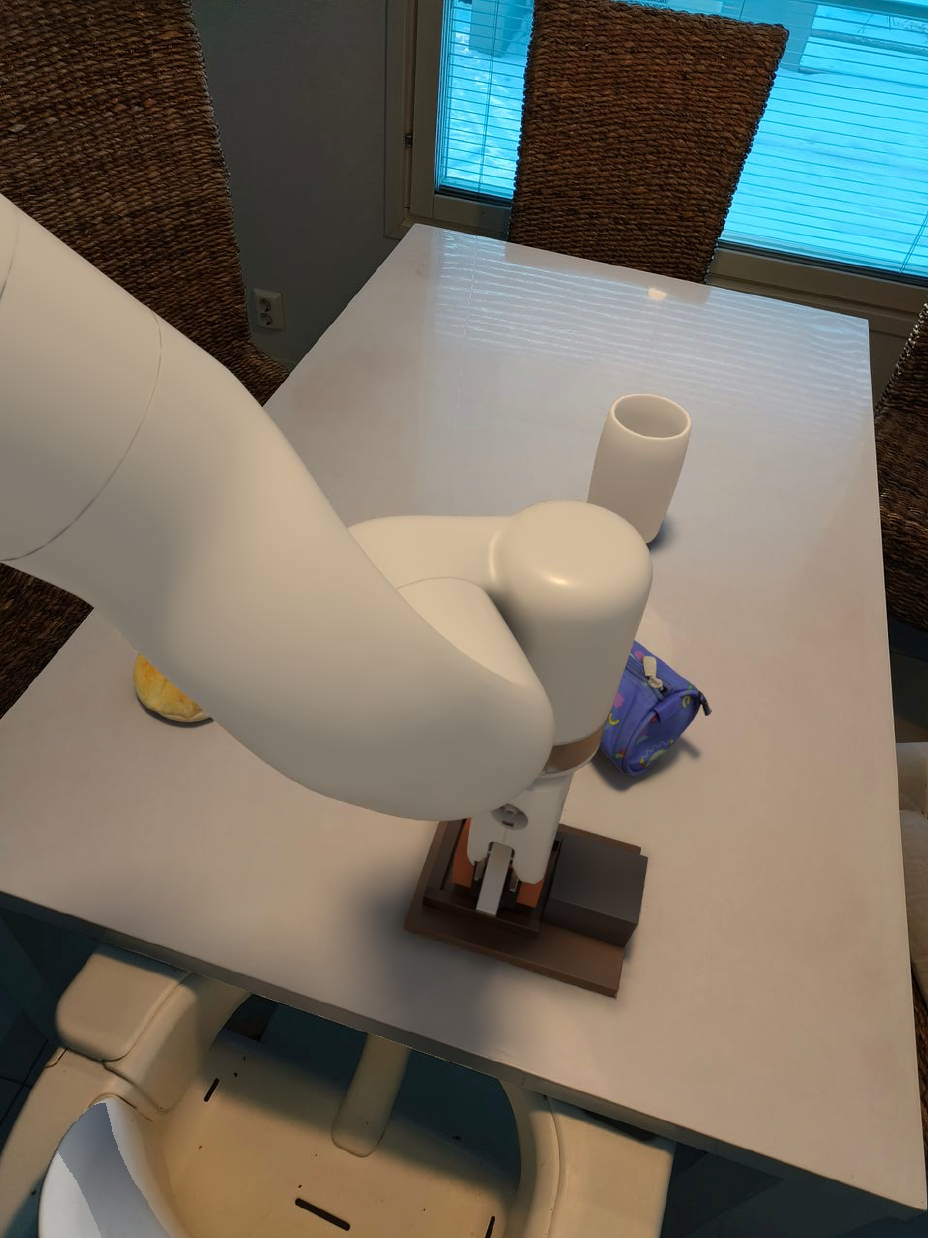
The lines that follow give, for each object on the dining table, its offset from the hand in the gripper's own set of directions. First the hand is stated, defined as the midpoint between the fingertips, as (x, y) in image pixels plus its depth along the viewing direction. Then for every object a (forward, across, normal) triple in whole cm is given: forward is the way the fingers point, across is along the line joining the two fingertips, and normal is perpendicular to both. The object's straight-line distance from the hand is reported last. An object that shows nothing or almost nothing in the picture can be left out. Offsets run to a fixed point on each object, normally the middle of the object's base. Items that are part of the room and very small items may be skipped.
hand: (503, 860), depth 60 cm
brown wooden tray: (+3, 0, -2) cm, 4 cm away
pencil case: (+4, +20, -1) cm, 20 cm away
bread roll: (+4, +9, +29) cm, 31 cm away
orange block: (0, 0, 0) cm, 0 cm away
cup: (+4, +42, -2) cm, 42 cm away
